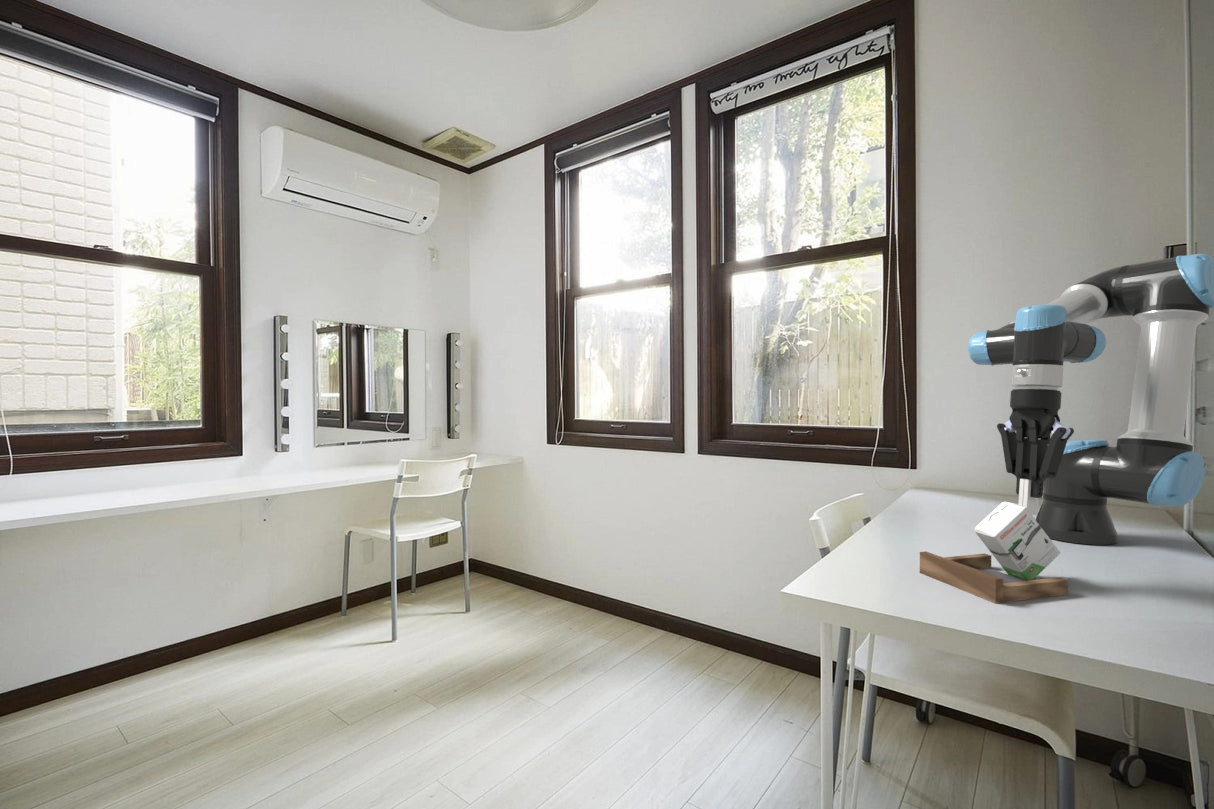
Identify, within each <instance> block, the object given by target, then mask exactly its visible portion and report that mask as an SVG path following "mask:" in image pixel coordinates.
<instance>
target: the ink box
mask: <svg viewBox="0 0 1214 809" xmlns="http://www.w3.org/2000/svg"><path fill="white" fill-rule="evenodd" d="M973 531H974V533H975V535H977V537H979V539H980V540H981V542H982V543H983V544H984V546H985V547H986V549H987V550H988V551H989V553H991V555H992V556H993V557H994V558H995V560H996V562H998V564H999V565H1000V567H1001V568H1002V569H1003V570H1004V571H1005V574H1008V575H1011V576H1013V577H1016V578H1019V579H1022V580H1025V581H1030V580H1035V579H1036V578H1037V576H1039V575H1040V574H1041V573H1042V571H1044V570H1045V569H1046V568H1047V567H1049V565H1050V564H1051V563H1052V562H1053V561H1054V560H1055V559H1056V558H1057V557H1058V556H1059V555H1060V554H1061V551H1060V550H1059V549H1058V547H1057V546H1056V545H1055V543H1054V542H1053V541H1052V539H1050V538H1049V537H1048V536H1047V534H1046V533H1045V532H1044V530H1043V529H1042V528H1041V526H1040V525H1039V524H1038V522H1037V521H1036V518H1035V517H1034V515H1031V513H1030V512H1029V511H1028V509H1027V508H1026V507H1024V506H1021V505H1018V503H1013V502H1008V501H1002V502H1000V503H999V505H998V506H996V507H995V508H994V509H993V510H992V511H991V512H990V513H989V514H988V515H986V517H984V518H983V519H982V520H981V521H980V522H979V523H978V524H977V525H976V526H975V527H974V530H973Z"/></svg>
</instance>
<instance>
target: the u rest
mask: <svg viewBox="0 0 1214 809" xmlns="http://www.w3.org/2000/svg"><path fill="white" fill-rule="evenodd" d="M919 573H920V574H922V575H925V576H927V577H929V578H933V579H935V580H937V581H939V582H942V583H945V584H948V585H950V586H951V587H954V588H957V589H959V590H961V591H964V592H967V593H970V594H972V595H974V596H977V597H979V598H981V599H985V600H987V601H989V602H991V603H994V604H1001V603H1008V602H1009V603H1010V602H1016V601H1017V602H1018V601H1025V600H1026V601H1027V600H1034V599H1035V600H1036V599H1040V598H1041V599H1042V598H1051V597H1059V596H1066V595H1069V580H1068V579H1066V578H1064V577H1059V576H1058V577H1050V578H1041V579H1033V580H1030V581H1025V580H1022V579H1019V578H1016V577H1013V576H1011V575H1008V574H1007V573H1006V572H1005V573H1004V572H1003V571H1002V572H1001V571H998V570H995V569H993V568H992V554H991V555H990V554H987V553H977V554H975V553H974V554H966V555H965V554H964V555H956V556H955V555H954V556H945V557H943V556H940V555H937V554H935V553H932V552H929V551H919Z"/></svg>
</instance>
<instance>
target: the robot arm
mask: <svg viewBox="0 0 1214 809" xmlns="http://www.w3.org/2000/svg"><path fill="white" fill-rule="evenodd" d="M1210 309H1214V258H1213V257H1212V256H1211V255H1208V254H1205V253H1196V254H1194V253H1193V254H1187V255H1177V256H1174V257H1168V258H1163V259H1157V260H1151V261H1146V262H1145V261H1144V262H1139V263H1134V264H1133V263H1132V264H1128V265H1127V264H1126V265H1122V266H1117V267H1114V268H1113V267H1112V268H1110V269H1108V270H1104V271H1102V272H1099V273H1097V274H1095V275H1092V276H1090V277H1088V278H1085V279H1083V280H1082V281H1080V282H1077V283H1075V284H1073V285H1071V286H1070V287H1067V288H1066V289H1065V290H1064V291H1063V292H1062V293H1061V295H1060V296H1059V297H1058V298H1056V299H1054V300H1052V301H1050V302H1048V303H1045V304H1036V305H1035V304H1034V305H1028V306H1024V307H1022V308H1021V307H1020V309H1018V311H1017V312H1016V316H1015V320H1013V321H1012V322H1009V323H1007V324H1006V325H1004V326H1002V327H1000V328H998V329H995V330H994V329H993V330H989V329H988V330H984V331H980V332H979V331H978V332H976V333H974V334H973V335H972V336H971V338H970V339H969V341H968V345H967V350H968V351H967V352H968V355H969V358H970V360H971V361H972V362H973V363H975V364H976V365H980V366H992V367H993V366H998V365H999V366H1000V365H1001V366H1002V365H1012V369H1011V370H1012V372H1011V386H1012V387H1014V389H1012V390H1010V397H1009V403H1010V404H1009V406H1010V408H1011V410H1012V411H1011V414H1009V419H1008V420H1007V421H1005V422H1004V423H997V425H996V429H997V430H998V432H999V434H1000V436H1001V442H1002V443H1001V444H1002V451H1003V455H1004V456H1003V457H1004V464H1005V469H1006V472H1007V473H1008V474H1011V475H1014V476H1015V477H1016V487H1015V488H1016V489H1015V492H1016V495H1018V503H1017V504H1018V505H1021V506H1024V507H1026V508H1027V509H1028V511H1029V512H1030V513H1031V515H1032V516H1036V517H1035V520H1036V521H1037V522H1038V524H1039V525H1040V526H1041V528H1042V529H1043V530H1044V532H1045V533H1046V534H1047V536H1048V537H1049V538H1050V539H1051V540H1055V541H1060V542H1065V543H1073V544H1083V545H1093V546H1095V545H1097V546H1100V545H1101V546H1103V545H1106V546H1107V545H1114V544H1117V541H1118V532H1117V530H1116V528H1115V525H1114V522H1113V519H1112V517H1111V514H1110V512H1109V509H1108V499H1116V500H1120V501H1129V502H1136V503H1142V504H1147V505H1148V504H1149V505H1152V506H1167V507H1183V506H1185V505H1187V504H1189V503H1190V502H1192V501H1193V499H1195V498H1196V497H1197V495H1198V494H1199V492H1200V490H1201V488H1202V486H1203V483H1204V481H1205V480H1204V479H1205V477H1206V476H1205V475H1206V467H1205V465H1206V463H1205V459H1204V457H1202V455H1201V454H1200V453H1197V452H1195V451H1193V449H1194V444H1193V443H1192V442H1191V441H1190V440H1189V439H1188V438H1186V437H1185V435H1184V434H1185V427H1186V421H1187V420H1186V419H1187V411H1188V403H1189V395H1190V394H1189V393H1190V386H1191V377H1192V371H1193V370H1192V368H1193V361H1194V351H1195V346H1196V345H1195V343H1196V336H1197V328H1198V326H1199V325H1200V324H1202V323H1203V322H1205V321H1206V320H1208V319H1209V315H1210ZM1126 316H1130V317H1131V316H1132V321H1133V322H1135V323H1136V324H1137V325H1138V326H1140V331H1139V339H1138V347H1137V356H1136V362H1135V371H1134V379H1133V387H1132V396H1131V404H1130V410H1129V420H1128V425H1127V426H1128V427H1127V431H1126V432H1125V433H1123V434H1122V435H1119V436H1117V438H1116V446H1110V444H1109V442H1108V440H1107V439H1083V440H1069V439H1070V438H1071V437H1072V435H1073V434H1074V433H1075V429H1074V428H1073V427H1067V426H1065V425H1064V424H1062V423H1061V419H1060V416H1059V411H1060V410H1061V407H1062V392H1061V390H1059V388H1062V387H1063V378H1064V376H1063V375H1064V363H1065V362H1066V363H1067V362H1069V363H1071V364H1076V363H1079V364H1080V363H1088V362H1092V361H1094V360H1096V359H1097V358H1099V357H1100V356H1101V355H1102V354H1103V352H1104V351H1105V349H1106V346H1107V345H1106V344H1107V339H1106V336H1105V333H1104V332H1103V330H1101V329H1100V328H1099V327H1096V326H1094V325H1093V326H1092V325H1090V324H1091V323H1094V322H1096V321H1098V320H1101V319H1108V318H1117V317H1126ZM1040 499H1042V503H1041V505H1040V508H1039V501H1040Z"/></svg>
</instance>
